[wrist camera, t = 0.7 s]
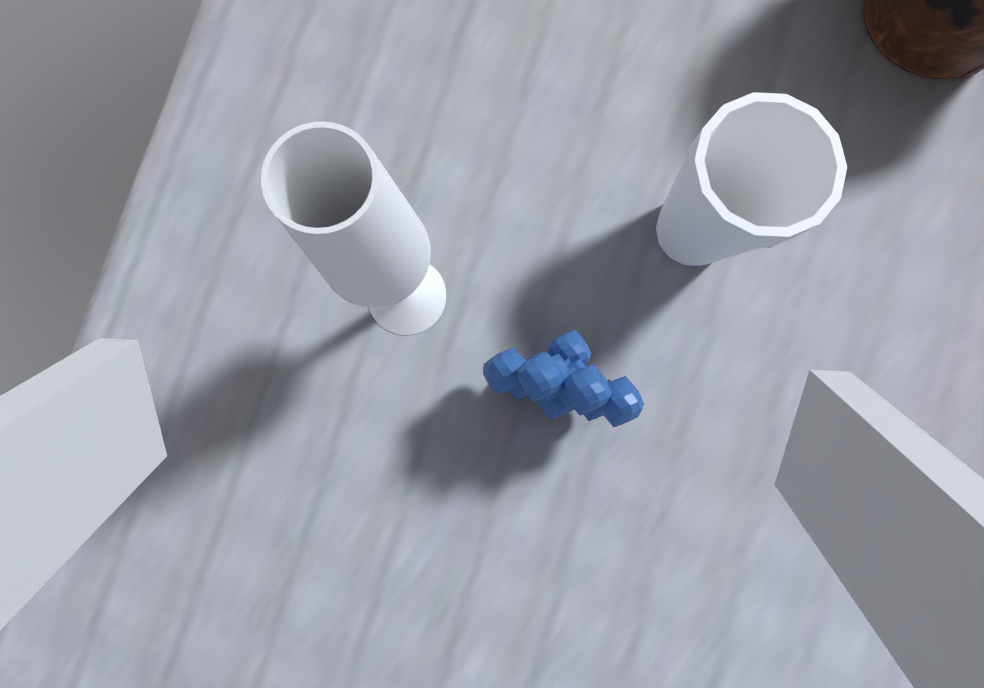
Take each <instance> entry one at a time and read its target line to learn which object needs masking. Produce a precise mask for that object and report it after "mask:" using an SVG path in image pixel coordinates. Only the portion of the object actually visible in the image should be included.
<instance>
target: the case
mask: <svg viewBox="0 0 984 688" xmlns="http://www.w3.org/2000/svg"><path fill="white" fill-rule="evenodd" d="M864 14H865V21H866V25H867V28H868V30H869V33H870V35H871V37H872V39H873V41H874V42H875V44H876V45H877V47H878V48H879V49H880V50H881V51H882V52H883V53H884V54H885V56H887V57H888V58H889V59H890V60H891V61H893V62H894V63H896V64H897V65H899V66H900V67H902V68H904V69H906V70H908V71H910V72H914V73H916V74H919V75H922V76H926V77H931V78H954V77H958V78H964V77H969V76H972V75H974V74H976V73H977V72H979V71H981V70H982V69H984V0H865V8H864Z"/></svg>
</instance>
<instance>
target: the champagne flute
mask: <svg viewBox="0 0 984 688" xmlns="http://www.w3.org/2000/svg"><path fill="white" fill-rule="evenodd" d="M261 187H262V191H263V195H264V198H265V200H266V202H267V205H268V207H269V208H270V209H271V211H272V212H273V213H274V215H275V216H276V217H277V219H278V220H279V221H280V222H281V224H282V225H283V226H284V228H285V229H286V230H287V231H288V233H289V234H290V235H291V237H292V238H293V239H294V240H295V242H296V243H297V244H298V246H299V247H300V248H301V250H302V251H303V252H304V253H305V255H306V256H307V257H308V259H309V260H310V261H311V262H312V264H313V265H314V266H315V268H316V269H317V270H318V271H319V273H320V274H321V275H322V277H323V278H324V279H325V280H326V282H327V283H328V284H329V286H330V287H331V288H332V289H333V291H335V292H336V293H337V294H338V295H339V296H340V297H341V298H343V299H345V300H347V301H349V302H350V303H353V304H356V305H359V306H363V307H369V311H370V313H371V315H372V317H373V318H374V319H375V321H376V322H377V323H378V324H379V325H380V326H381V327H382V328H384V329H386V330H387V331H389V332H392V333H395V334H399V335H414V334H417V333H421V332H423V331H425V330H427V329H428V328H430V327H431V326H432V325H434V323H435V322H436V321H437V320H438V319H439V317H440V316H441V314H442V312H443V310H444V307H445V303H446V288H445V284H444V281H443V279H442V277H441V275H440V274H439V273H438V271H437V270H436V269H435V268H434V267H433V266H431V265H430V257H431V249H430V241H429V237H428V234H427V231H426V229H425V227H424V226H423V224H422V222H421V221H420V219H419V218H418V216H417V215H416V213H415V212H414V210H413V209H412V208H411V206H410V205H409V203H408V202H407V200H406V199H405V197H404V196H403V194H402V193H401V192H400V190H399V189H398V187H397V186H396V184H395V183H394V181H393V180H392V178H391V177H390V176H389V174H388V173H387V171H386V170H385V168H384V167H383V165H382V164H381V162H380V161H379V160H378V158H377V157H376V155H375V154H374V152H373V151H372V149H371V148H370V147H369V145H368V144H367V143H366V141H365V140H364V139H363V138H362V137H361V136H359V135H358V134H357V133H356V132H355V131H353V130H351V129H349V128H347V127H345V126H343V125H339V124H336V123H331V122H311V123H307V124H303V125H300V126H298V127H296V128H294V129H291V130H290V131H288V132H287V133H285V134H284V135H283V136H281V137H280V138H279V139H278V140H277V141H276V142H275V143H274V144H273V146H272V147H271V149H270V151H269V152H268V154H267V156H266V158H265V161H264V163H263V168H262V173H261Z"/></svg>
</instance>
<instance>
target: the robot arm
mask: <svg viewBox="0 0 984 688" xmlns="http://www.w3.org/2000/svg"><path fill="white" fill-rule="evenodd" d="M166 457H167V453H166V449H165V445H164V441H163V437H162V433H161V429H160V425H159V422H158V418H157V414H156V410H155V406H154V402H153V398H152V394H151V390H150V386H149V382H148V378H147V374H146V370H145V366H144V362H143V358H142V354H141V351H140V347H139V343H138V340H125V339H103V338H99V339H97V340H96V341H94V342H92V343H90V344H89V345H87V346H85V347H84V348H82V349H80V350H78V351H77V352H75V353H73V354H72V355H70V356H68V357H66V358H65V359H63V360H61V361H60V362H58V363H56V364H55V365H53V366H51V367H50V368H48V369H46V370H44V371H42V372H41V373H39V374H37V375H36V376H34V377H32V378H30V379H29V380H27V381H25V382H24V383H22V384H20V385H19V386H17V387H15V388H13V389H12V390H10V391H8V392H7V393H5V394H3V395H1V396H0V630H1V629H2V628H3V627H4V626H5V625H6V624H7V623H8V622H9V620H10V619H11V618H12V617H13V616H14V615H15V614H16V613H17V612H18V611H19V610H20V609H21V608H22V607H23V606H24V605H25V604H26V603H27V602H28V601H29V600H30V599H31V598H32V597H33V595H34V594H35V593H36V592H37V591H38V590H39V589H40V588H41V587H42V586H43V585H44V584H45V583H46V582H47V581H48V580H49V579H50V578H51V577H52V576H53V575H54V574H55V573H56V571H57V570H58V569H59V568H60V567H61V566H62V565H63V564H64V563H65V562H66V561H67V560H68V559H69V558H70V557H71V556H72V555H73V554H74V553H75V552H76V551H77V550H78V549H79V548H80V546H81V545H82V544H83V543H84V542H85V541H86V540H87V539H88V538H89V537H90V536H91V535H92V534H93V533H94V532H95V531H96V530H97V529H98V528H99V527H100V526H101V525H102V524H103V522H104V521H105V520H106V519H107V518H108V517H109V516H110V515H111V514H112V513H113V512H114V511H115V510H116V509H117V508H118V507H119V506H120V505H121V504H122V503H123V502H124V501H125V500H126V498H127V497H128V496H129V495H130V494H131V493H132V492H133V491H134V490H135V489H136V488H137V487H138V486H139V485H140V484H141V483H142V482H143V481H144V480H145V479H146V478H147V477H148V476H149V475H150V473H151V472H152V471H153V470H154V469H155V468H156V467H157V466H158V465H159V464H160V463H161V462H162V461H163V460H164V459H165V458H166ZM775 486H776V488H777V489H778V490H779V492H780V493H781V495H782V496H783V498H784V499H785V501H786V502H787V504H788V505H789V506H790V508H791V509H792V511H793V512H794V514H795V515H796V517H797V518H798V520H799V521H800V523H801V524H802V525H803V527H804V528H805V530H806V531H807V533H808V534H809V536H810V537H811V539H812V540H813V541H814V543H815V544H816V546H817V547H818V549H819V550H820V552H821V553H822V555H823V556H824V557H825V559H826V560H827V562H828V563H829V565H830V566H831V568H832V569H833V571H834V572H835V574H836V575H837V576H838V578H839V579H840V581H841V582H842V584H843V585H844V587H845V588H846V590H847V591H848V592H849V594H850V595H851V597H852V598H853V600H854V601H855V603H856V604H857V606H858V607H859V608H860V610H861V611H862V613H863V614H864V616H865V617H866V619H867V620H868V622H869V623H870V625H871V626H872V627H873V629H874V630H875V632H876V633H877V635H878V636H879V638H880V639H881V641H882V642H883V643H884V645H885V646H886V648H887V649H888V651H889V652H890V654H891V655H892V657H893V658H894V659H895V661H896V662H897V664H898V665H899V667H900V668H901V670H902V671H903V673H904V674H905V675H906V677H907V678H908V680H909V681H910V683H911V684H912V686H913V687H914V688H984V479H983V478H982V477H980V476H979V475H978V474H977V473H975V472H974V471H973V470H972V469H970V468H969V467H968V466H967V465H965V464H964V463H963V462H962V461H960V460H959V459H958V458H957V457H955V456H954V455H953V454H952V453H950V452H949V451H948V450H947V449H945V448H944V447H943V446H942V445H940V444H939V443H938V442H937V441H935V440H934V439H933V438H932V437H930V436H929V435H928V434H927V433H925V432H924V431H923V430H922V429H920V428H919V427H918V426H917V425H915V424H914V423H913V422H912V421H911V420H909V419H908V418H907V417H906V416H904V415H903V414H902V413H901V412H899V411H898V410H897V409H896V408H894V407H893V406H892V405H891V404H889V403H888V402H887V401H886V400H884V399H883V398H882V397H881V396H879V395H878V394H877V393H876V392H874V391H873V390H872V389H871V388H869V387H868V386H867V385H866V384H864V383H863V382H862V381H861V380H859V379H858V378H857V377H856V376H854V375H853V374H852V373H851V372H846V371H823V370H810V371H809V374H808V377H807V381H806V384H805V387H804V390H803V394H802V397H801V400H800V403H799V407H798V410H797V413H796V416H795V420H794V423H793V426H792V429H791V433H790V436H789V439H788V442H787V446H786V449H785V452H784V455H783V459H782V462H781V465H780V468H779V472H778V475H777V478H776V481H775Z"/></svg>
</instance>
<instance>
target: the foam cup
mask: <svg viewBox="0 0 984 688" xmlns="http://www.w3.org/2000/svg"><path fill="white" fill-rule="evenodd" d="M846 171H847V164H846V160H845V156H844V152H843V149H842V145H841V141H840V137H839V135H838V133H837V132H836V131H835V130H834V129H833V127H832V126H831V125H830V124H829V123H828V121H827V120H826V119H825V118H824V117H823V115H822V114H821V113H820V112H819V111H818V109H816V108H814V107H812V106H810V105H808V104H806V103H804V102H802V101H800V100H798V99H796V98H794V97H792V96H790V95H788V94H776V93H754V92H753V93H751V94H748V95H746V96H743V97H741V98H739V99H736V100H734V101H731V102H729V103H726V104H724V105H723V106H722V107H721V108H720V109H719V110H718V111H717V112H716V114H715V115H714V116H713V117H712V118H711V119H710V120H709V122H708V123H707V124H706V125H705V126H704V127H703V129H702V130H701V131H700V132H699V134H698V135H697V136H696V137H695V139H694V140H693V141H692V143H691V144H690V145H689V146H688V150H687V155H686V159H685V161H684V163H683V166H682V168H681V170H680V172H679V174H678V176H677V178H676V180H675V182H674V184H673V186H672V188H671V190H670V192H669V194H668V196H667V198H666V200H665V202H664V204H663V206H662V209H661V211H660V213H659V217H658V221H657V225H656V233H657V238H658V242H659V245H660V246H661V248H662V249H663V250H664V252H665V253H666V254H667V255H668V257H669V258H671V259H673V260H675V261H677V262H679V263H681V264H683V265H688V266H702V265H706V264H709V263H713V262H716V261H719V260H722V259H725V258H729V257H732V256H735V255H738V254H741V253H745V252H748V251H751V250H754V249H757V248H761V247H763V248H770V247H773V246H775V245H777V244H780V243H782V242H784V241H787V240H789V239H791V238H794V237H796V236H798V235H800V234H802V233H804V232H806V231H808V230H809V229H811V228H813V227H815V226H817V225H818V224H820V223H821V222H822V221H823V219H824V218H825V217H826V216H827V215H828V213H829V212H830V211H831V210H832V209H833V207H834V206H835V205H836V204H837V203H838V201H839V200H840V199H841V195H842V190H843V185H844V181H845V176H846Z"/></svg>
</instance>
